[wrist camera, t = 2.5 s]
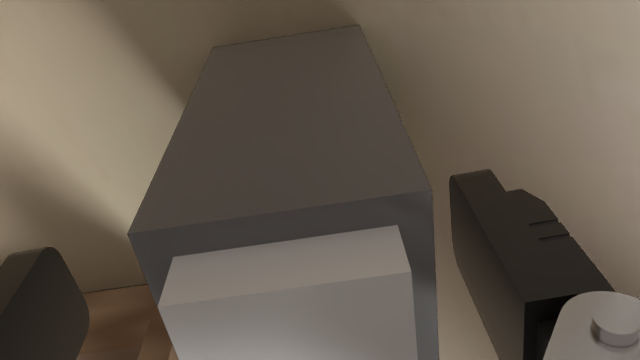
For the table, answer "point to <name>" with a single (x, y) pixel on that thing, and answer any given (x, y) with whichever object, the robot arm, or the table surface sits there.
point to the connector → (291, 211)
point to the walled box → (125, 327)
